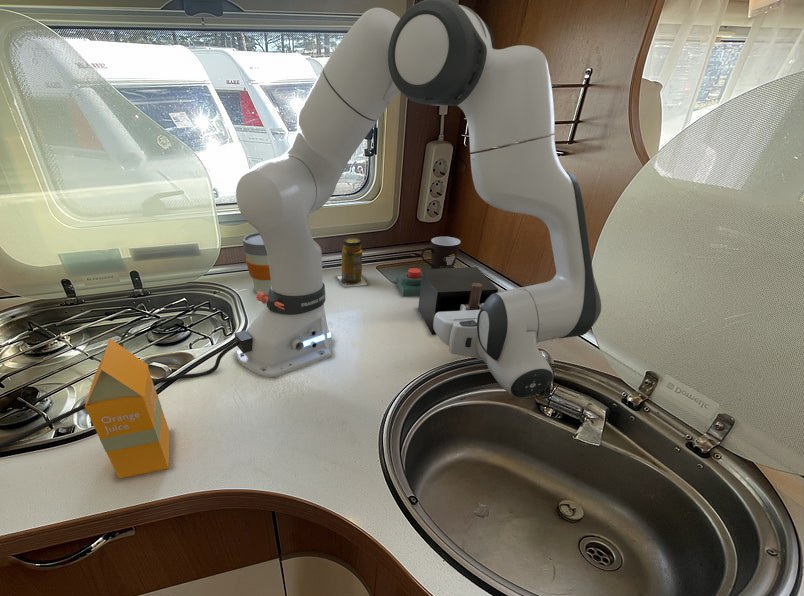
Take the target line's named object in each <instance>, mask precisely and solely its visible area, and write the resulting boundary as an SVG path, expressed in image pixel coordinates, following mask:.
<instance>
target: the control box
mask: <svg viewBox="0 0 804 596" xmlns="http://www.w3.org/2000/svg"><path fill="white" fill-rule="evenodd" d="M395 277H396V278H395V284H396V285H397V287H398V289H399V292H400V294H401V296H402V297H418V296H420V287H421V278H422V272H421V276H420V278H416V279H413V278H409V277H408V271H407V272H404V273H403V274H402V275H396V276H395Z"/></svg>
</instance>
